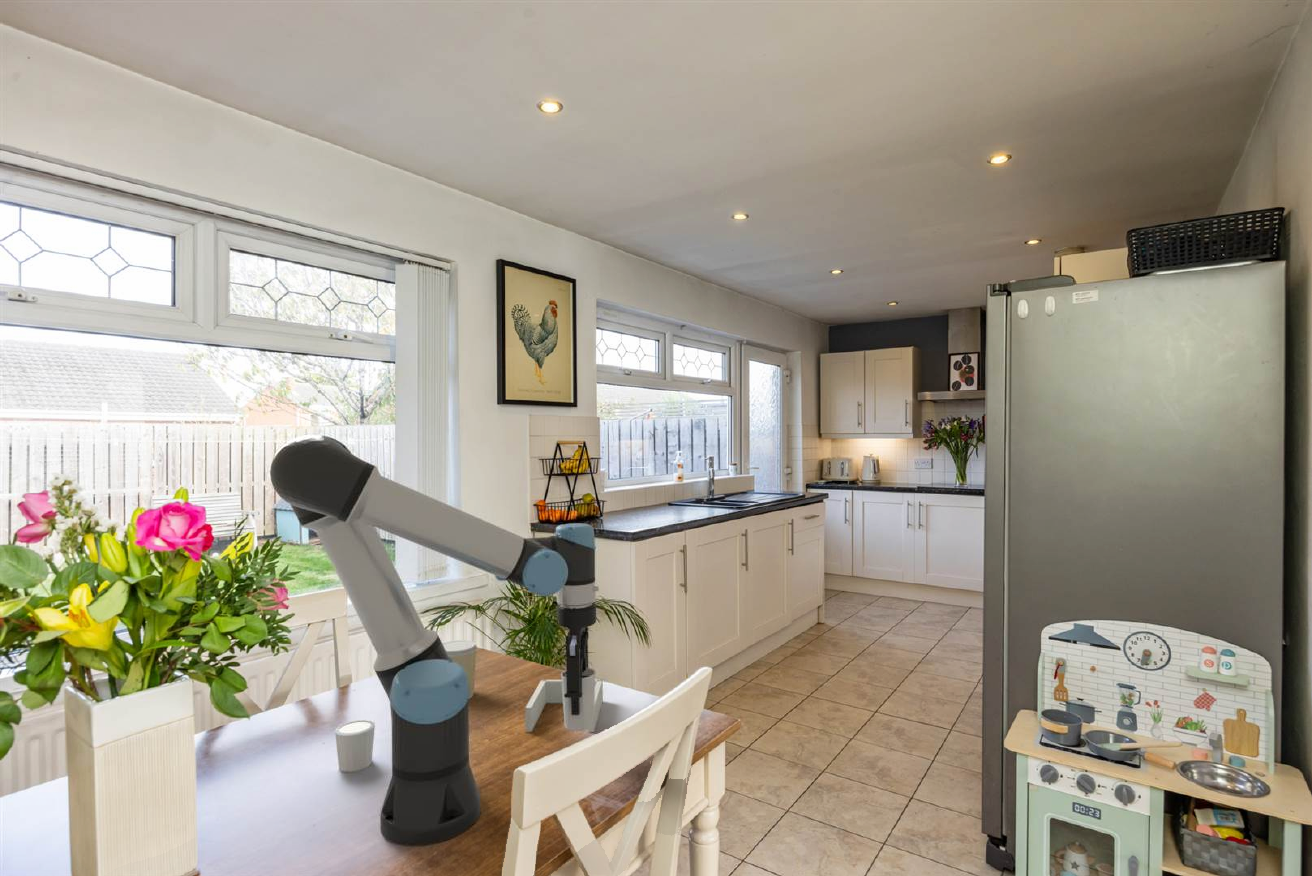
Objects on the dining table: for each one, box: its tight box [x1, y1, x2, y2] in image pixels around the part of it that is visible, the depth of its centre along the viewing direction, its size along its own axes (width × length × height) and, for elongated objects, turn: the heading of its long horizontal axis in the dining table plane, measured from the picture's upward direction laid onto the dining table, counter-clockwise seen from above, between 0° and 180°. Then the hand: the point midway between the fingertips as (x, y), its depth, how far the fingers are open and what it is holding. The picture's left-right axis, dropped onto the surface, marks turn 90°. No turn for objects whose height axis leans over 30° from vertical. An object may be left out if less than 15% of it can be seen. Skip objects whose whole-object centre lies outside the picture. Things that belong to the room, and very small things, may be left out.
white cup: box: [560, 667, 596, 731], centre depth 130 cm, size 7×7×10 cm
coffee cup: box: [442, 639, 478, 700], centre depth 159 cm, size 9×9×12 cm
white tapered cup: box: [334, 719, 376, 773], centre depth 125 cm, size 7×7×7 cm
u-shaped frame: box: [524, 679, 604, 733], centre depth 146 cm, size 14×17×5 cm
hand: (578, 722), depth 130 cm, fingers closed on white cup, 6 cm apart
